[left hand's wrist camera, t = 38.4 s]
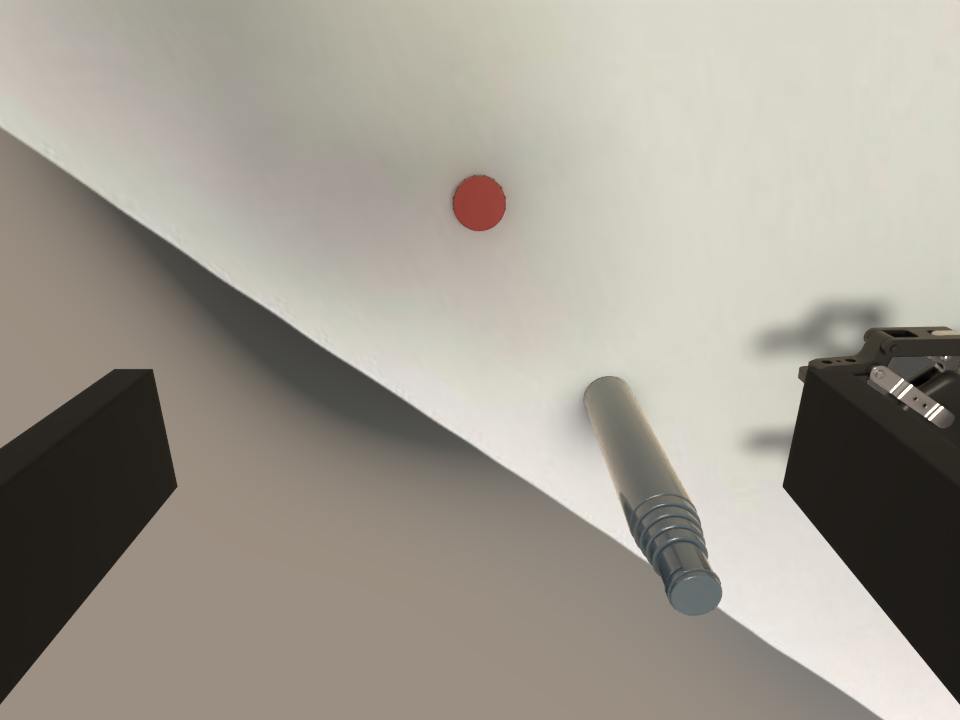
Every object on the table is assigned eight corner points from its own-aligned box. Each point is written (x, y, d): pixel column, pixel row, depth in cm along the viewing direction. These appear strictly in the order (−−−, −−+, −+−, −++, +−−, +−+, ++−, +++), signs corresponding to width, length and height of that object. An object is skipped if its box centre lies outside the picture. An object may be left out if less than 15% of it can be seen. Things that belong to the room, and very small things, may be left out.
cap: (515, 201, 47) (516, 204, 45) (479, 237, 48) (479, 242, 46) (479, 163, 46) (479, 165, 44) (443, 201, 47) (442, 204, 45)
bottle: (574, 402, 53) (639, 602, 31) (605, 367, 52) (696, 550, 30) (609, 427, 54) (697, 639, 32) (641, 393, 53) (754, 589, 31)
